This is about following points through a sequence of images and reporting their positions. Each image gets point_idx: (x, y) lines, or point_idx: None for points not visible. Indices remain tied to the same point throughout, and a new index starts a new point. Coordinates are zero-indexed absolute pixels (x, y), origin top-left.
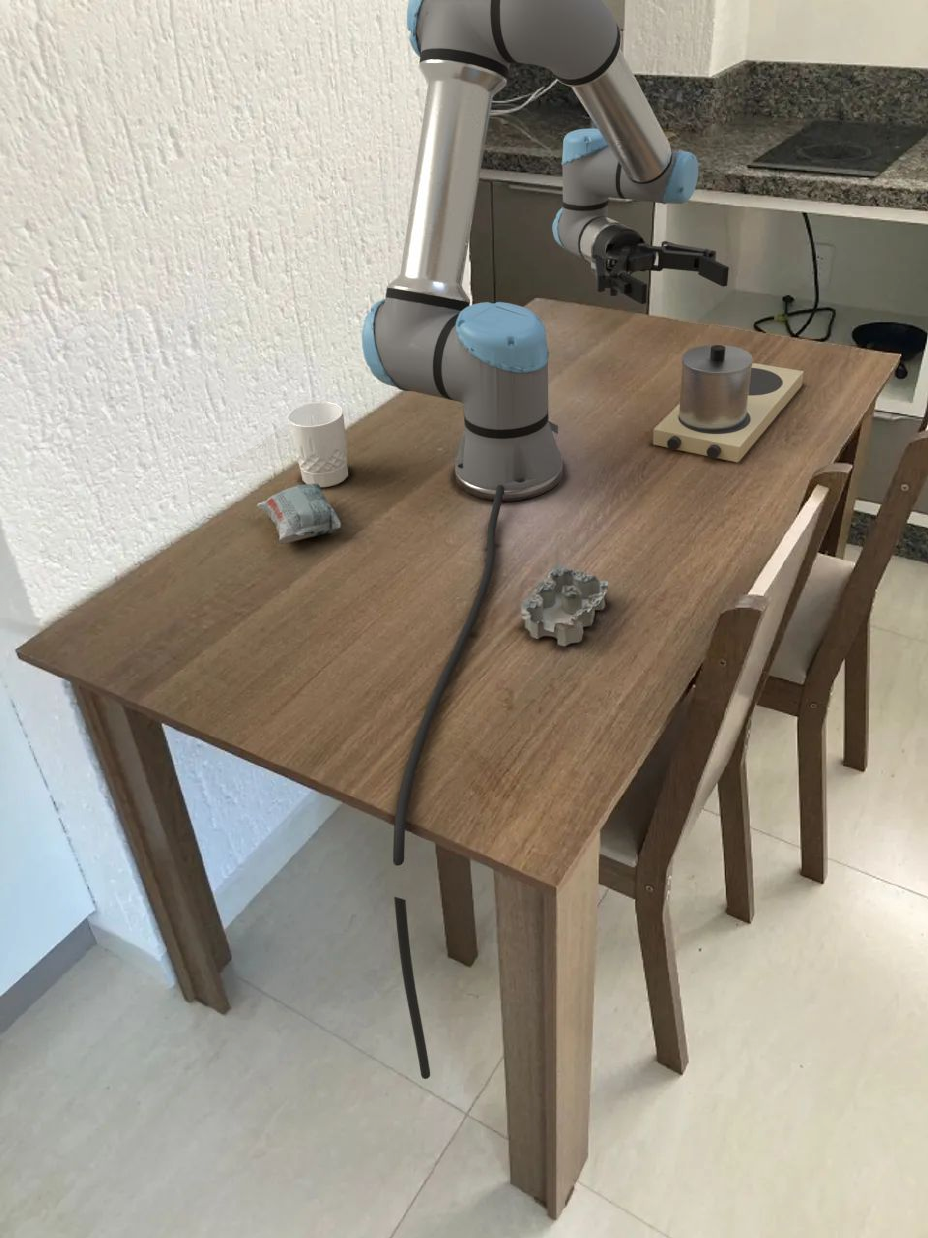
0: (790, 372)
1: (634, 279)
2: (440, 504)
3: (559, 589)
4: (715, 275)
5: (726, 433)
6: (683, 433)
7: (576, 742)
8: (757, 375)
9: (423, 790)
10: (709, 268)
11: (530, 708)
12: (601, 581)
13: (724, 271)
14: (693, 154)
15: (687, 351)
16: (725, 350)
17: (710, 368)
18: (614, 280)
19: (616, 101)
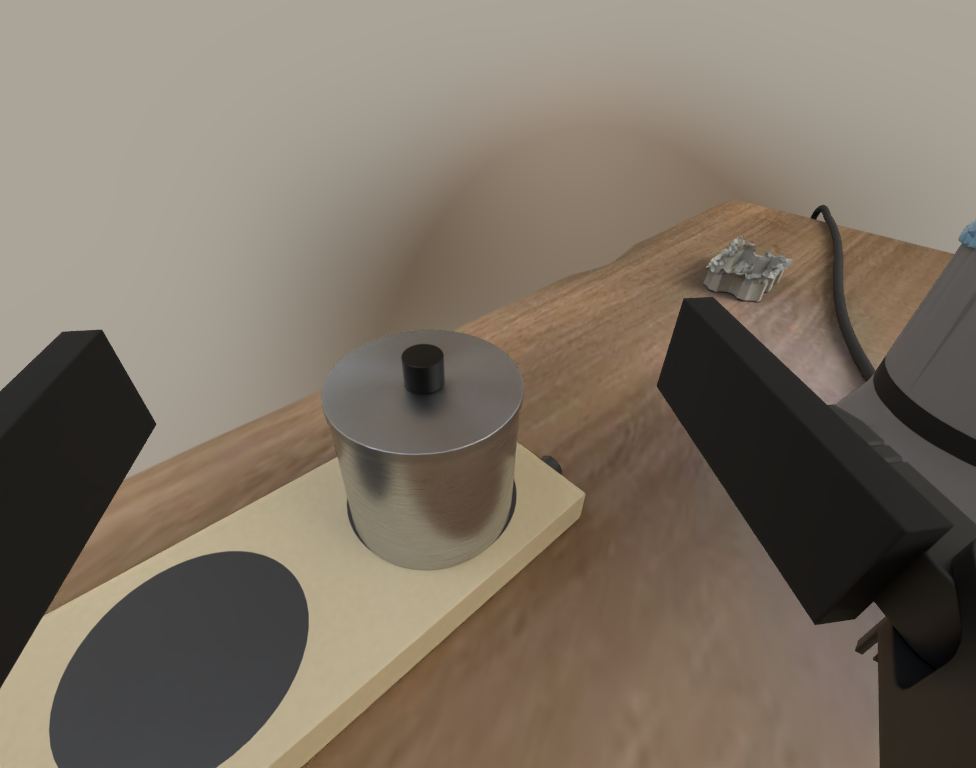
0: (21, 658)
1: (769, 366)
2: None
3: (752, 297)
4: (92, 456)
5: None
6: (529, 457)
7: (724, 227)
8: (122, 684)
9: (818, 227)
10: (22, 506)
11: (759, 243)
12: (712, 271)
13: (111, 350)
14: None
15: (479, 439)
16: (371, 407)
17: (474, 350)
18: (955, 514)
19: None
